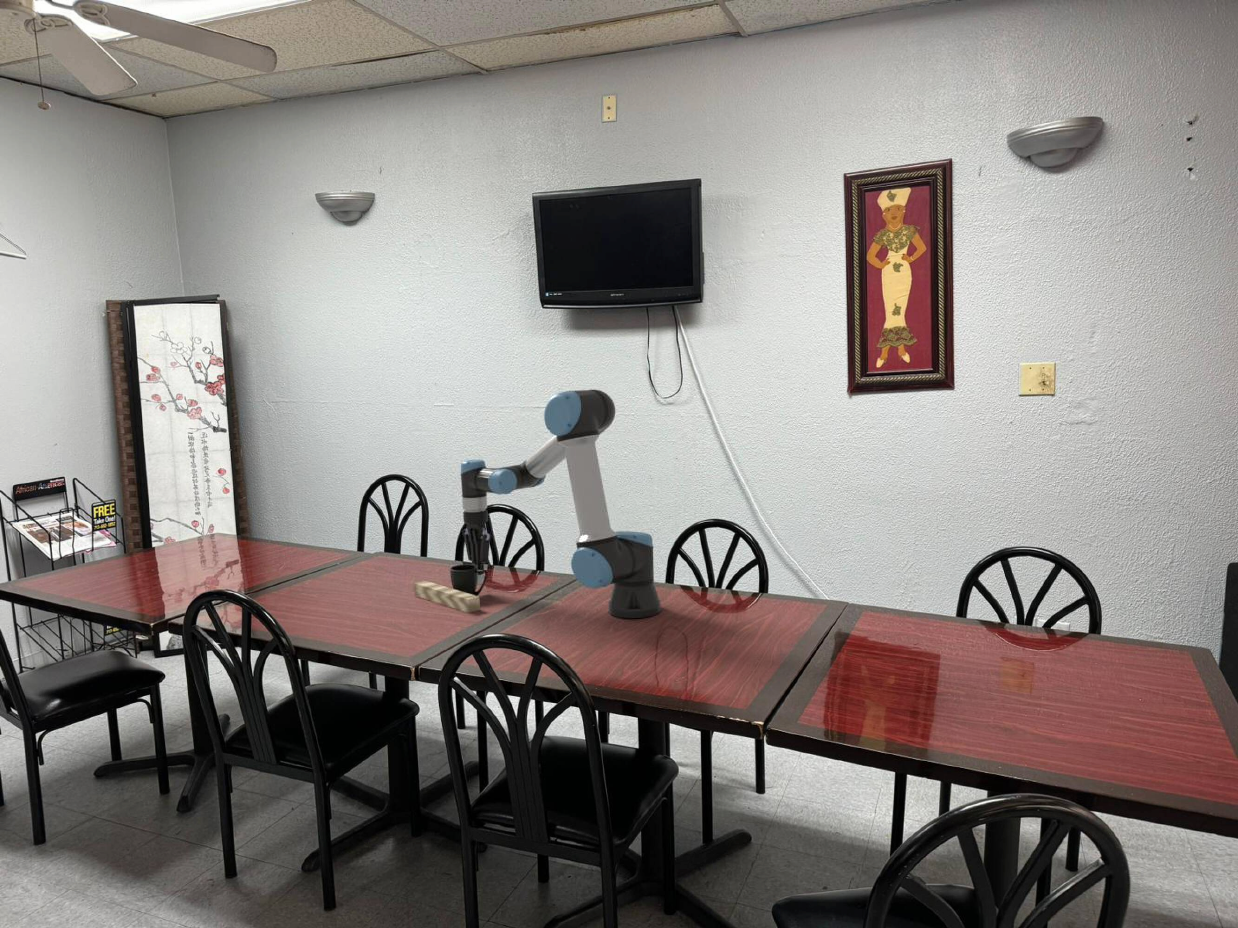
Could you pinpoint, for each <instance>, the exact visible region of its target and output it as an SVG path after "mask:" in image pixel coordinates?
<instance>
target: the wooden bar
mask: <svg viewBox="0 0 1238 928" xmlns="http://www.w3.org/2000/svg"><path fill="white" fill-rule="evenodd" d="M413 587H414V588H413V589H414V591H413V592H414V596H415V597H419V598H422V599H423V600H427V601H431V602H433V603H436V604H440V605H443V606H446V607H449V608H452V609H454V610H458V611H461V612H464V613H468V614H470V613H474V612H478V611H481V604H480V603H481V601H480V596H479V595H478V596H475V595H472V594H469V593H465V592H462V591H458V590H455V589H453V587H452V588H451V587H448V586H443V585H440V584H438V583H434V582H431V581H427V580H421V581H418V582H413Z"/></svg>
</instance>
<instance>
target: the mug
mask: <svg viewBox="0 0 1238 928" xmlns="http://www.w3.org/2000/svg"><path fill="white" fill-rule="evenodd" d="M477 572H484V581H483V584H481V585H480V587H479V588H478V590H477V586H478V585H477V579H478V574H477ZM449 573H450V574H449V575H450V583H451V586H452V589H455V590H458V591H462V592H465V593H469V594H472V595H475V596H479V595H480V594H481V592H482V590H483V588H484V586H485V584H486V582H487V580H488V578H489V571H488V570H487V569H484V570H477V566H476V565H473V563H469V564H468V563H467V564H466V563H464V564H458V565H454V566H452V567H450V568H449Z"/></svg>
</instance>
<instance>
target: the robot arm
mask: <svg viewBox="0 0 1238 928" xmlns="http://www.w3.org/2000/svg"><path fill="white" fill-rule="evenodd" d="M543 412H544V414H543V419H544V420H543V421H544V424H545V427H546V428H547V430H548V431H549V433H551V434H552V435H553V436H552V437H550V439H548V440H547V441H546V442H544V443H543V444H542V445H541V446H540V447H539V448H538V449H536V450H535V451H534V452H533V453H532V454H531V455H530V456H529V457H527V458H526V459H525V460H524V461H522V463H520V464H515V465H511V466H503V467H496V468H495V467H494V468H493V467H486V462H485V460H483V459H467V460H463V461H462V462H461V463H460V480H461V481H460V482H461V496H462V497H461V501H462V510H463V512H462V515H463V516H462V517H463V523H464V524H466V528H465V529H462V530H461V533H462V536H463V539H464V545H465V548H466V555H467V559H468V561H469V562H471V564H472V565H476V566H477V570H485V567H484V566H485V564H486V563H489V555H490V547H491V544H490V543H491V539H492V537H493V535H492V533H490V532H489V533H488V531H487V526H486V523H487V522H488V521H489V513H488V512H489V511H488V509H487V508H488V497H487V496H488V493H489V494H497V495H510V494H511V493H513V491H517V490H523V489H528V488H535V487H538V486H540V485H542V484H543V483H544V482H545V480H546V476H547V474H549V473H550V472H551V471H552V470H553V469H555V468H556V467H557V466H558V465H560V464H561V463H562V462H563V461H564V460H566V461H565V462H566V465H567V470H568V476H569V481H570V482H569V483H570V487H571V493H572V497H573V503H574V509H575V514H576V519H577V525H578V530H579V535H578V537H577V539H576V540H575V544H576V550H575V551H574V553H573V554H572V557H571V560H570V565H571V570H572V573H573V575H574V578H575V579H576V580H577V581H578V583H580V584H582V586H584V587H586V588H588V589H592V590H593V589H595V590H596V589H600V588H606V587H608V586H610V585H612V584H613V587H612V591H611V595H610V600H609V601H608V604H607V605H608V606H607V607H608V614H610V615H611V616H614V617H617V618H622V619H624V618H625V619H639V618H640V619H641V618H648V617H649V618H650V617H652V616H655V615H657V614H660V612H661V611H662V607H661V605H662V604H661V600H660V598H659V596H658V592H657V589H656V586H655V577H654V576H655V574H654V573H655V571H654V549H655V548H654V544H653V536H652V535H651V534H649V533H646V532H642V531H631V530H630V531H629V530H628V531H627V530H626V531H625V530H624V531H623V530H622V531H619V530H618V531H615V530H614V529H612V528H611V522H610V515H609V511H608V506H607V501H606V495H605V490H604V485H603V478H602V474H601V468H600V463H599V457H598V451H597V446H596V442H597V441H598V439H599V437H600V435H601V434H603V433H604V432H606V430H607V429H608V428H609V427H610V426H611V425H612V424H613V422H614V419H615V418H616V406H615V402H614V400H613V399H612V397H611V396H609V395H608V394H607V393H606V392H604V391H602V390H601V389H583V390H566V391H562V392H558V393H555V394H554V395H552V396H551V397H550V398H549V399H548V402H547V404H546V406H545V408H544V411H543ZM477 574H478V579H477V586H482V584H483V581H484V579H485V573H484V572H477Z"/></svg>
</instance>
